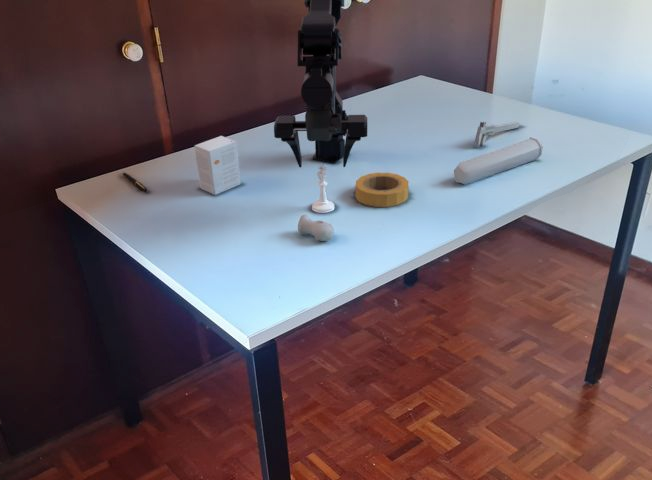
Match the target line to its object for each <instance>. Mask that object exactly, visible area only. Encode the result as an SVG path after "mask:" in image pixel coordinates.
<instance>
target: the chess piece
mask: <svg viewBox="0 0 652 480" xmlns="http://www.w3.org/2000/svg"><path fill="white" fill-rule="evenodd" d="M317 169H318V170H319V171H318V172H317V173H316V174H317V177H318V180H319V181H318V182H317V186H318V187H319V197H318V200H316V201H314V202H313V203H312V204H311V210H312V211H313V212H314V213H318V214H319V213H320V214H328V213H331V212H333V211H334V210H335V203H334V202H332V201H331V200H329V199H328V198H327V193H326V192H327V191H326V186H328V182H327V181H326V178H327V175H328V172H327V171H326V170H327V167H326V166H324V163H320V165H318V167H317Z"/></svg>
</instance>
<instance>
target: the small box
mask: <svg viewBox="0 0 652 480" xmlns="http://www.w3.org/2000/svg"><path fill="white" fill-rule="evenodd" d="M237 143H238V142H237V140H234V139H231V138H228V137H226V136H223V135H219V136H217V137H214V138H211V139H208V140H206V141H203V142H200V143H197V144H195V145H194V152H195V157H196V158H195V160H196V167H197V173H198V180H199V187H200V189H201V190H203V191H205V192H207V193H210V194H212V195H214V196H217V195H219V194H221V193H224V192H226V191H228V190H231V189H233V188H235V187H238V186H241V185H242V179H241V171H240V161H239V153H238V144H237Z"/></svg>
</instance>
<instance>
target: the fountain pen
mask: <svg viewBox="0 0 652 480" xmlns="http://www.w3.org/2000/svg"><path fill="white" fill-rule="evenodd" d="M121 174H122V176H123V177H124V178H126V179H127V180H128V181H129V182H130V183H132V184H133V185H134V186H135V187H136V188H138V189H139V190H140V191H142V192H145V193H147V191H148V190H147V188H146V187H145V186H144V185H143V184H142V183H141V182H139V181H138V180H137V179H135V178H134V177H132V176H131V175H130V174H128V173H126V172H124V171H121Z"/></svg>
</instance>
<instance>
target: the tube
mask: <svg viewBox="0 0 652 480" xmlns="http://www.w3.org/2000/svg"><path fill="white" fill-rule="evenodd" d="M543 147H544V146H543V145H542V143H541V141H540V140H539V139H538V138H535V137H533V136H530V137H529V138H527V139H525V140H521V141H519V142H516V143H512V144H510V145H507V146H504V147H501V148H498V149H496V150H493V151H489V152H486V153H484V154H480V155H477V156H475V157H473V158H470V159H466V160H463V161H461V162H459V163H458V165H456V167H455V168H454V169H453V176H454V180H455V182H456V183H460V184H463V185H465V186H467V185H470V184H472V183H476V182H478V181H481V180H483V179H485V178H489V177H491V176H494V175H497V174H500V173H502V172H505V171H508V170H511V169H513V168H516V167H519V166H521V165H525V164H527V163H530V162H533V161H534V162H535V161H537V160H539V159H540V157H542V155H543Z"/></svg>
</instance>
